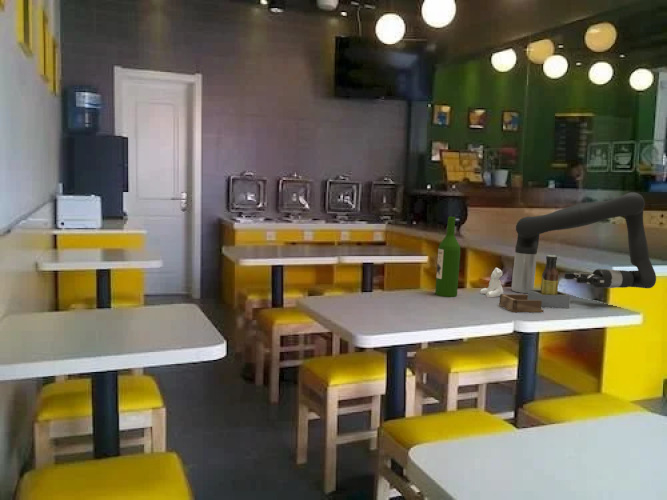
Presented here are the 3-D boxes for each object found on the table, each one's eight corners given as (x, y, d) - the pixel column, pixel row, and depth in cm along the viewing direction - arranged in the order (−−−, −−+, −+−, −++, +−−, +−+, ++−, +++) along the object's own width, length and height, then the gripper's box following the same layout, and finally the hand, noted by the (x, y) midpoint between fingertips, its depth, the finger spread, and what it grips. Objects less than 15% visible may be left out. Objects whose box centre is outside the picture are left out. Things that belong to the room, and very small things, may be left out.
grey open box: (527, 301, 251) (528, 289, 251) (554, 302, 254) (555, 290, 253) (541, 307, 241) (542, 295, 240) (569, 307, 243) (570, 295, 242)
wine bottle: (431, 293, 260) (436, 215, 256) (450, 292, 263) (455, 216, 259) (441, 297, 252) (447, 217, 248) (461, 296, 255) (467, 218, 251)
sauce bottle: (545, 302, 252) (550, 254, 249) (559, 305, 247) (564, 256, 244) (536, 304, 248) (540, 254, 245) (549, 307, 243) (554, 256, 240)
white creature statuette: (478, 293, 266) (481, 265, 264) (497, 293, 267) (500, 266, 266) (487, 297, 256) (490, 269, 255) (507, 298, 258) (509, 269, 256)
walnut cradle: (499, 305, 241) (500, 294, 240) (527, 305, 243) (528, 294, 243) (513, 312, 229) (514, 300, 229) (543, 312, 232) (544, 300, 231)
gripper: (597, 266, 257) (561, 266, 254) (619, 272, 244) (582, 271, 240) (595, 284, 258) (560, 284, 255) (617, 291, 244) (580, 290, 241)
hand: (571, 278), depth 248 cm, fingers open, 8 cm apart
